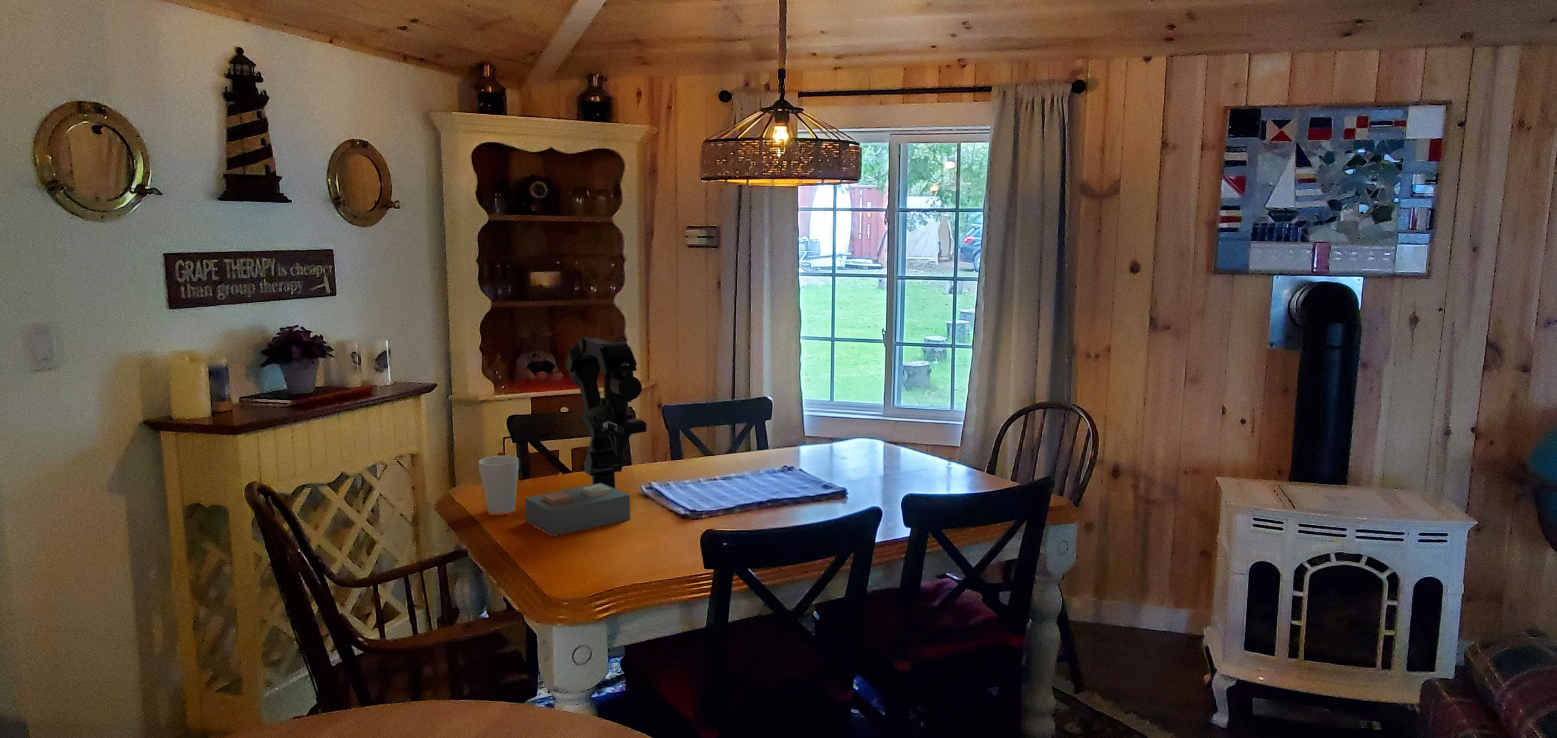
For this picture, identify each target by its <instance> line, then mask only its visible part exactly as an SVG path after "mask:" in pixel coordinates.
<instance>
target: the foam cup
mask: <svg viewBox="0 0 1557 738" xmlns="http://www.w3.org/2000/svg"><path fill="white" fill-rule="evenodd" d="M519 463H520V461H519V457H517V456H514V455H493V456H488V457H484V458H482V459H479V460H478V472H479V473H480V478H481V482H482V483H481V484H482V488H483V493H484V499H485V503H486V508H487V511H488V512H490V513H508V512H511V511H514V510H515V511H516V502H517V491H518V490H517V488H518V487H517V486H518V477H519V476H518V475H519V469H520V464H519ZM488 512H487V513H488Z"/></svg>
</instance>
